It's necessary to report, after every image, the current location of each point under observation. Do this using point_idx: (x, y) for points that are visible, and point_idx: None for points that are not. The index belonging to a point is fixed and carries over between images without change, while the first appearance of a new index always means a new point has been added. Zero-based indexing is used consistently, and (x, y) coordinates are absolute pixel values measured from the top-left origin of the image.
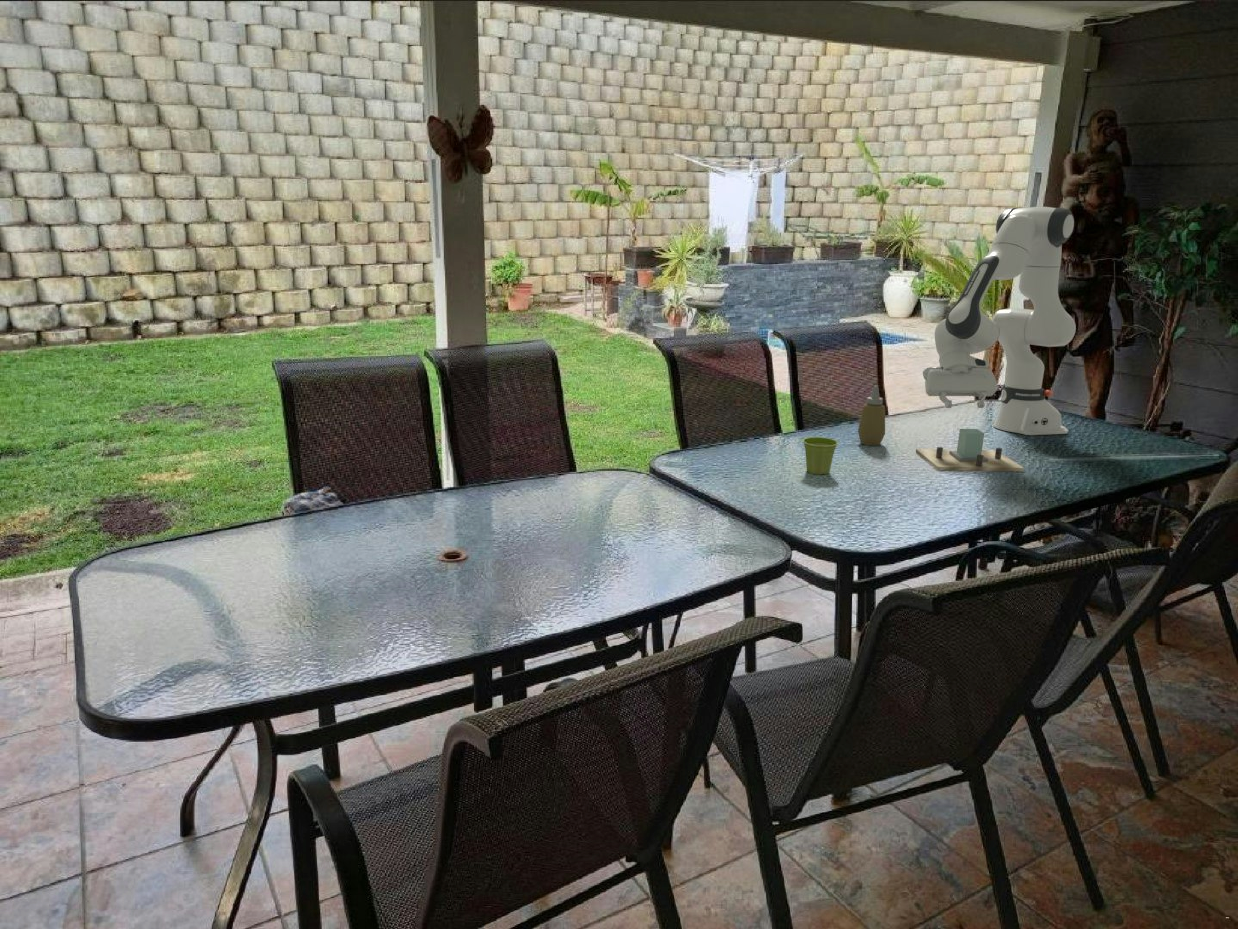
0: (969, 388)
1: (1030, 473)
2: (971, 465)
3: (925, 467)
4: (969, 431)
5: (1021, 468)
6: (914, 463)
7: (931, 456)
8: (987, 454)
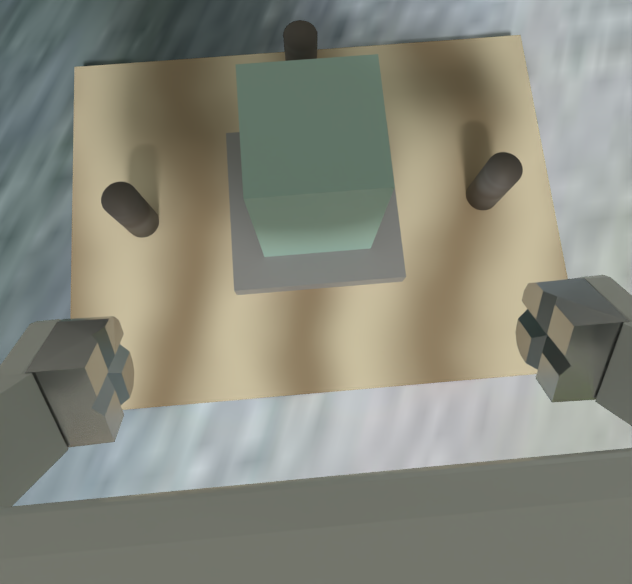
0: (198, 520)
1: (63, 52)
2: None
3: (563, 85)
4: (338, 107)
5: (89, 68)
6: (610, 145)
7: (518, 215)
8: (169, 301)
